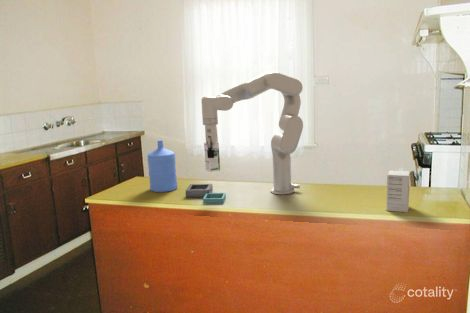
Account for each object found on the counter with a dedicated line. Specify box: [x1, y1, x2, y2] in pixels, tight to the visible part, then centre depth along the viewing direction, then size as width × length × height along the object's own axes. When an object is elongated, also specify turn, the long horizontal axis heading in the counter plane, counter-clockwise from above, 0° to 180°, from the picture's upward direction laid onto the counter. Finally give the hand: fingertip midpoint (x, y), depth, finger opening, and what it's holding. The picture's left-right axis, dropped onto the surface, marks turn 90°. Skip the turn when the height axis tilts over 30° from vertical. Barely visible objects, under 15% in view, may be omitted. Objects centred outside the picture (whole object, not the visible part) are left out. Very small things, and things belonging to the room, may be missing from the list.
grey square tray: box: [185, 183, 214, 199], centre depth 235 cm, size 13×13×4 cm
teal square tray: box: [202, 192, 227, 205], centre depth 223 cm, size 10×10×2 cm
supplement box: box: [386, 170, 411, 213], centre depth 196 cm, size 10×9×17 cm
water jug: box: [147, 140, 178, 193], centre depth 247 cm, size 16×16×28 cm
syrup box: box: [203, 141, 221, 173], centre depth 219 cm, size 6×6×14 cm
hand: (212, 155), depth 219 cm, fingers closed on syrup box, 7 cm apart
